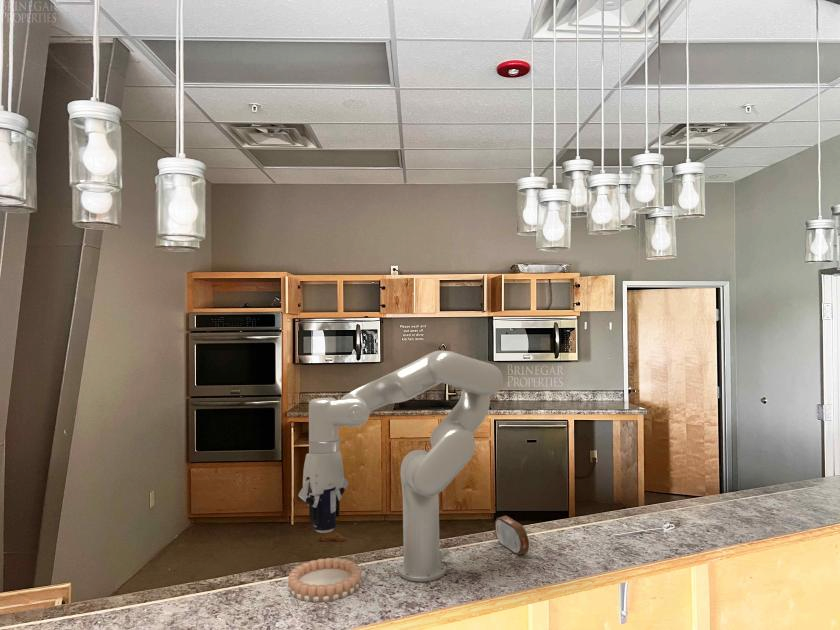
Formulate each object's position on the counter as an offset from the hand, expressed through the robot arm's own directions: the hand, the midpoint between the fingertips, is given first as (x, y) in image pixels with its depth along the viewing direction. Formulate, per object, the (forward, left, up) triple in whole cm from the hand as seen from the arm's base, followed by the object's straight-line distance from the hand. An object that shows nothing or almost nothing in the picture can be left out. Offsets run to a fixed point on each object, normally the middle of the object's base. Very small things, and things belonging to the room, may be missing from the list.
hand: (324, 518), depth 137 cm
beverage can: (0, 0, -3) cm, 3 cm away
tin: (-49, +24, -17) cm, 57 cm away
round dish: (0, 0, -17) cm, 17 cm away
